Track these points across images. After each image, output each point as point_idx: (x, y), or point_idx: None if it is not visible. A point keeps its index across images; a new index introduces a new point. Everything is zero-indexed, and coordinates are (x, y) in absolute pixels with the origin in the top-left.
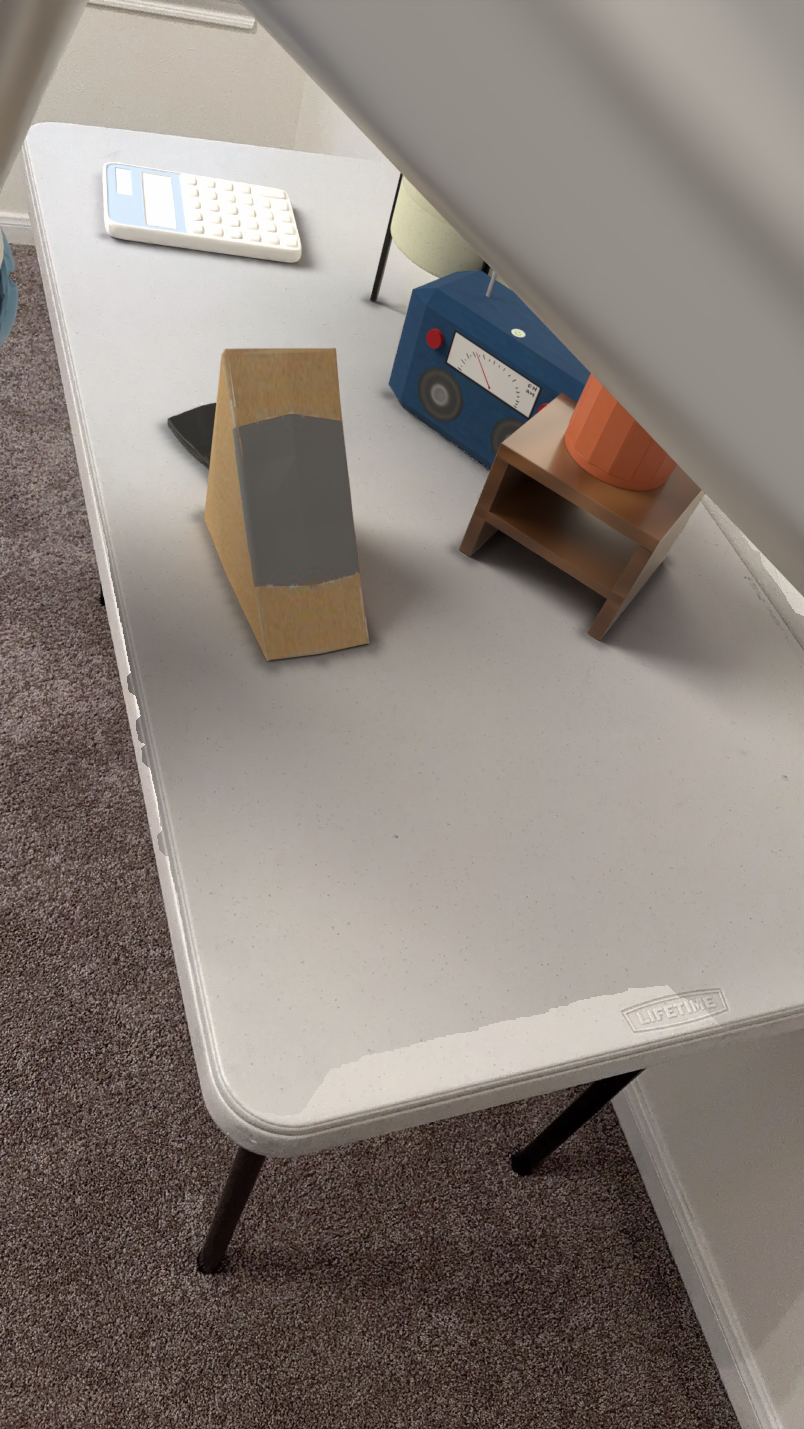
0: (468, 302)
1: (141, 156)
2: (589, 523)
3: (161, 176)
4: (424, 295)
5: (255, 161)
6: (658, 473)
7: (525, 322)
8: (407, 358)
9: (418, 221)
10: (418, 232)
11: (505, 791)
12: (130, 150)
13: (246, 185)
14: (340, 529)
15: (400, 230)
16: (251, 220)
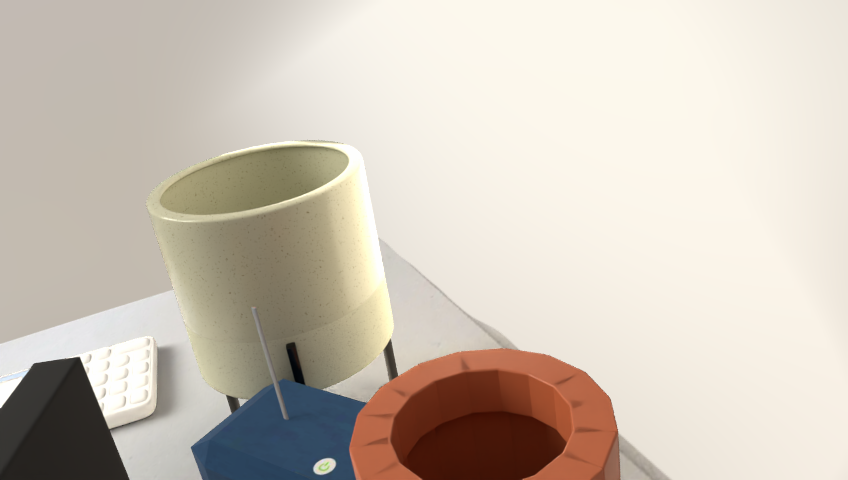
0: (253, 444)
1: (12, 361)
2: None
3: (13, 380)
4: (201, 453)
5: (138, 313)
6: None
7: (338, 439)
8: None
9: (201, 348)
10: (207, 360)
11: None
12: (3, 360)
13: (105, 350)
14: None
15: (197, 361)
16: (96, 390)
